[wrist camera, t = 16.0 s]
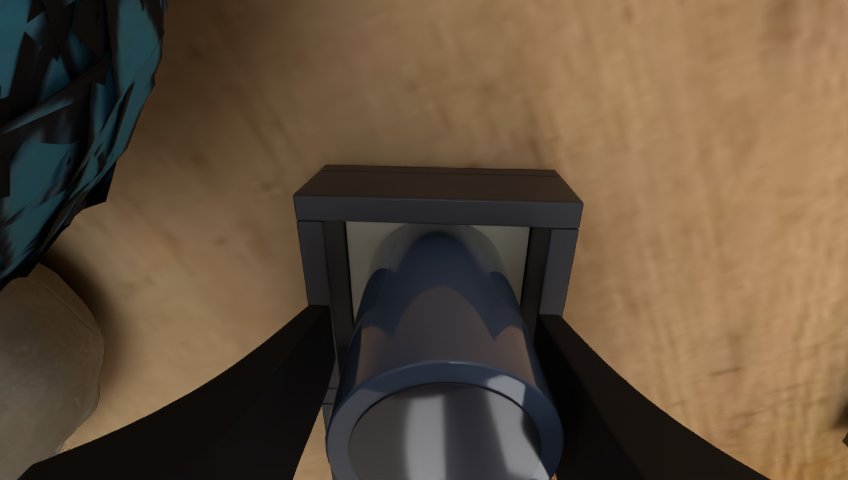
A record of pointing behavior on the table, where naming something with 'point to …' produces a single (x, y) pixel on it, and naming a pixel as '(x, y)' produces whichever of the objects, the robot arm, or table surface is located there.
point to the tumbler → (441, 369)
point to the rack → (433, 204)
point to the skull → (44, 368)
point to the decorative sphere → (66, 111)
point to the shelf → (846, 440)
